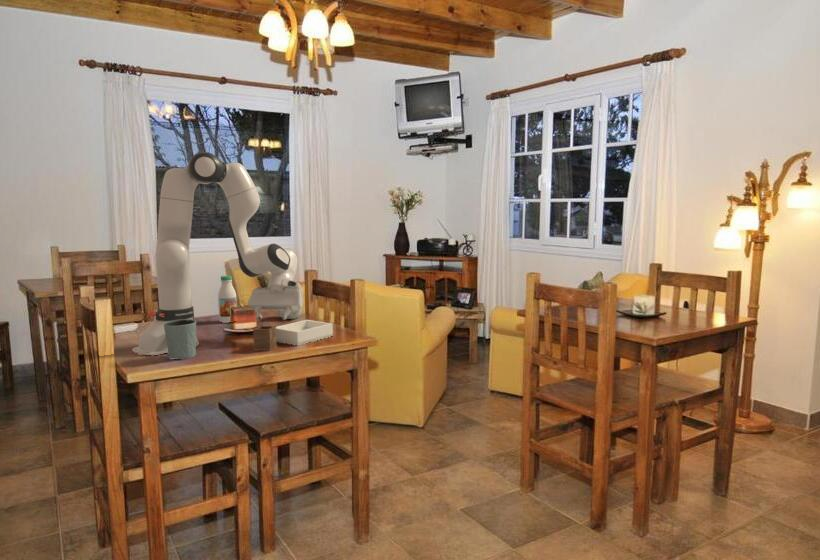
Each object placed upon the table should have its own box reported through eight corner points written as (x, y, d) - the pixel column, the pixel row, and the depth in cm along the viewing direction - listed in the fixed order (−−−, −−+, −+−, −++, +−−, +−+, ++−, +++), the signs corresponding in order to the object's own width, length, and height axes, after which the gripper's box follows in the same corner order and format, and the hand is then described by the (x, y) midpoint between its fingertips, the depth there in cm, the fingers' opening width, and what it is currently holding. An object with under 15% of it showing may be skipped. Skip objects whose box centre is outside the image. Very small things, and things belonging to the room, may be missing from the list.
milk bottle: (215, 322, 259) (212, 276, 256) (228, 319, 265) (226, 274, 263) (228, 324, 255) (226, 277, 252) (241, 320, 262) (239, 275, 259)
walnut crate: (270, 350, 209) (269, 329, 208) (254, 350, 210) (253, 329, 209) (276, 346, 215) (275, 326, 214) (260, 346, 216) (259, 325, 215)
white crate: (297, 345, 215) (297, 332, 215) (272, 340, 224) (271, 327, 223) (332, 336, 230) (332, 323, 229) (307, 331, 238) (307, 319, 237)
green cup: (201, 352, 207) (199, 318, 205) (192, 360, 197) (190, 325, 195) (172, 353, 206) (169, 319, 205) (161, 361, 196) (159, 325, 195)
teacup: (275, 317, 269) (275, 299, 268) (299, 314, 274) (298, 297, 273) (282, 322, 257) (282, 304, 256) (307, 320, 261) (306, 302, 260)
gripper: (250, 282, 224) (241, 313, 216) (303, 283, 221) (295, 314, 213) (256, 292, 229) (246, 322, 221) (307, 293, 226) (299, 323, 218)
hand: (271, 318), depth 217 cm, fingers open, 8 cm apart
